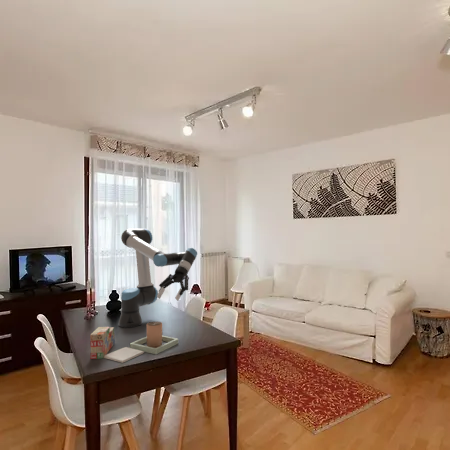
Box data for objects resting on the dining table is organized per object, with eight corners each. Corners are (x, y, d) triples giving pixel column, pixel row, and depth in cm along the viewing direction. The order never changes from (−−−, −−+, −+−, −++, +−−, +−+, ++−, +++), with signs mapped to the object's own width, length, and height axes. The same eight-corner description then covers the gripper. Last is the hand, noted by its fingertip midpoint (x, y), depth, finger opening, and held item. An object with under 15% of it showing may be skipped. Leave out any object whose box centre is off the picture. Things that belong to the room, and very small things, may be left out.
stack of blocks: (103, 344, 182) (103, 321, 183) (114, 343, 183) (114, 321, 183) (90, 359, 161) (90, 334, 161) (103, 358, 162) (103, 333, 162)
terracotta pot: (143, 346, 177) (143, 324, 178) (154, 342, 185) (153, 320, 185) (155, 349, 173) (155, 326, 173) (165, 344, 180) (165, 322, 181)
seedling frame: (129, 348, 176) (129, 343, 176) (153, 338, 191) (153, 333, 192) (155, 354, 166) (155, 349, 166) (178, 343, 182) (178, 338, 182)
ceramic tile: (104, 357, 162) (104, 355, 162) (125, 348, 175) (125, 346, 175) (122, 362, 156) (122, 360, 156) (143, 353, 168) (143, 351, 168)
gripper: (164, 264, 206) (147, 292, 192) (197, 266, 193) (181, 296, 180) (169, 272, 210) (154, 300, 197) (202, 274, 198) (187, 304, 184)
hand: (167, 298), depth 188 cm, fingers open, 13 cm apart
